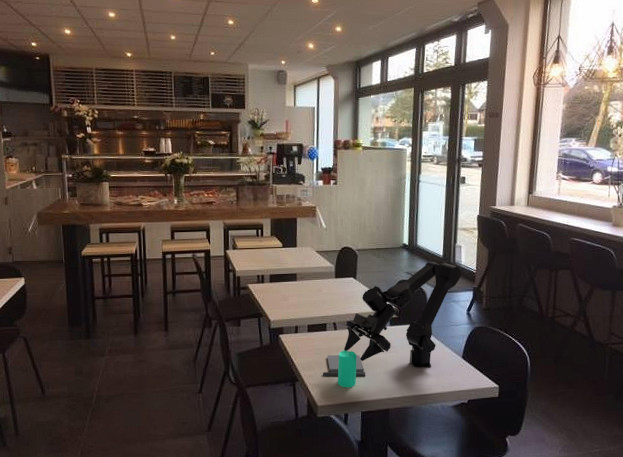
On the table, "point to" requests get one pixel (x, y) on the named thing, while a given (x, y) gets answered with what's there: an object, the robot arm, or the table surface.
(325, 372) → the dark grey bar
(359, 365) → the slate coaster
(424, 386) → the table surface
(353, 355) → the candle
